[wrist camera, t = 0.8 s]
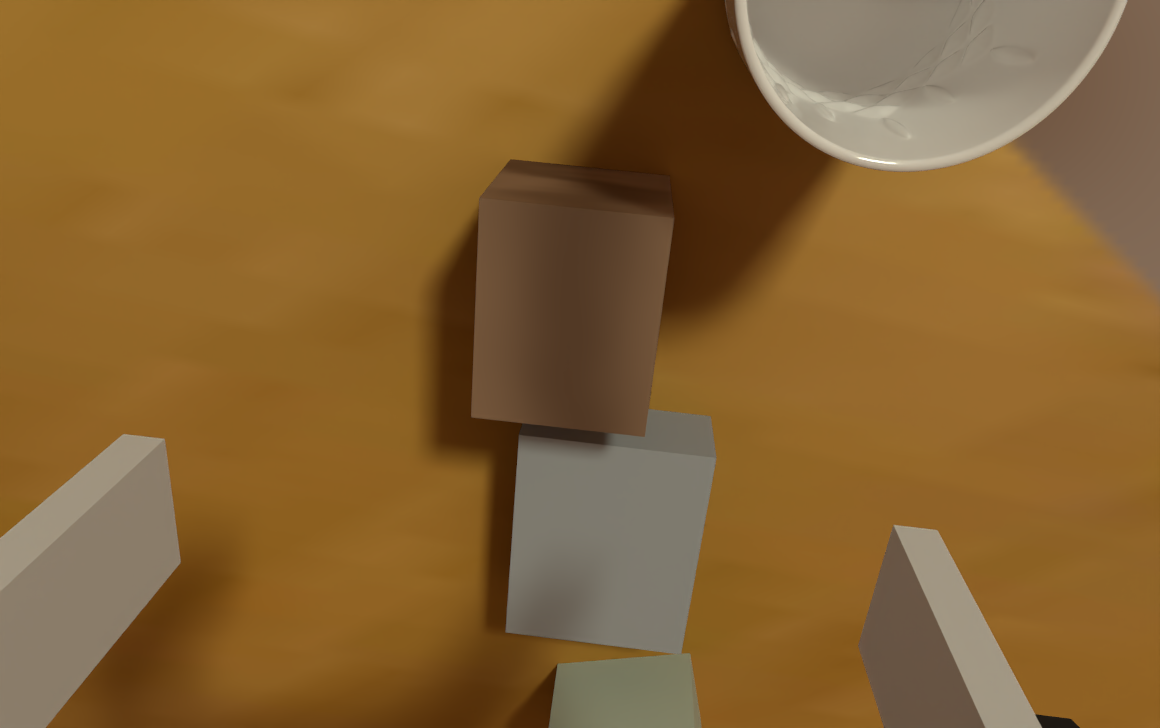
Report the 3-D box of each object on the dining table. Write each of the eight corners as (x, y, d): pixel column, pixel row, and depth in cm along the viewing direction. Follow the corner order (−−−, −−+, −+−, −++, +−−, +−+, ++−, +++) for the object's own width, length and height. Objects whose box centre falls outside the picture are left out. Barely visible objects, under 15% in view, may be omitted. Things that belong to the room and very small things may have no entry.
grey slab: (518, 576, 37) (505, 632, 34) (531, 392, 33) (519, 435, 30) (678, 596, 37) (680, 654, 33) (709, 412, 33) (716, 457, 30)
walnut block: (501, 344, 32) (471, 417, 27) (511, 158, 29) (479, 197, 24) (645, 360, 32) (644, 436, 26) (669, 175, 29) (674, 218, 24)
